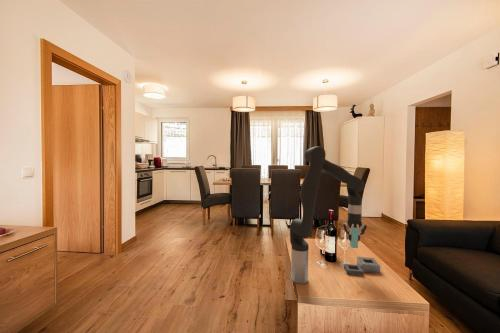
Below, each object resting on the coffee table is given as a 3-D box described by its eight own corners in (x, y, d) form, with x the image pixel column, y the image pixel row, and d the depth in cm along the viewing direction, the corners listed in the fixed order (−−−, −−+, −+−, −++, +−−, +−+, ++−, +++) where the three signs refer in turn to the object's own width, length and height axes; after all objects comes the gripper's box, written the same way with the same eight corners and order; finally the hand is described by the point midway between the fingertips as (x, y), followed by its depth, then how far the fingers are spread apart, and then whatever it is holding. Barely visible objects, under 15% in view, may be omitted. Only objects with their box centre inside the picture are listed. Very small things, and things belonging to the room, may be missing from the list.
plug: (357, 248, 141) (358, 227, 141) (351, 247, 142) (351, 227, 142) (356, 246, 145) (356, 226, 145) (350, 245, 146) (350, 226, 146)
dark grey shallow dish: (363, 275, 138) (363, 271, 138) (347, 274, 140) (347, 270, 140) (359, 269, 147) (359, 265, 147) (344, 267, 149) (344, 263, 149)
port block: (379, 273, 142) (380, 265, 142) (361, 271, 144) (362, 263, 144) (373, 265, 154) (373, 257, 154) (356, 263, 156) (357, 255, 156)
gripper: (343, 212, 141) (342, 241, 141) (369, 214, 138) (368, 243, 138) (341, 210, 148) (340, 238, 148) (365, 211, 146) (364, 239, 146)
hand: (354, 240), depth 143 cm, fingers closed on plug, 3 cm apart
